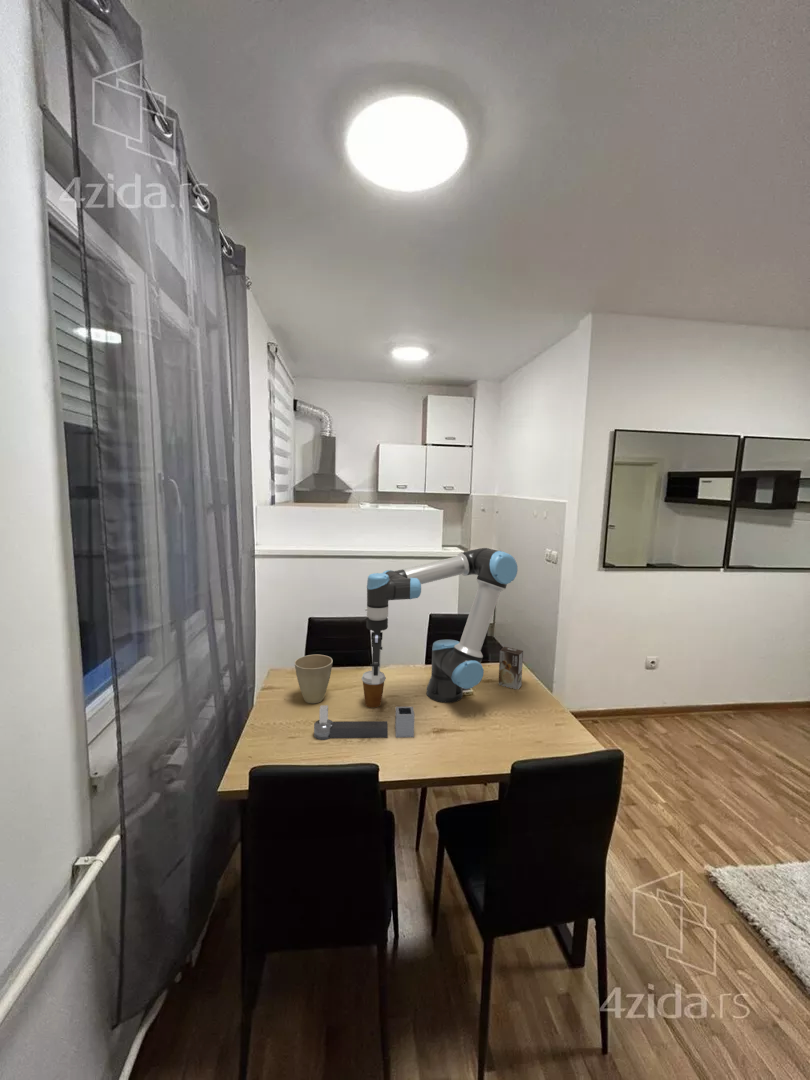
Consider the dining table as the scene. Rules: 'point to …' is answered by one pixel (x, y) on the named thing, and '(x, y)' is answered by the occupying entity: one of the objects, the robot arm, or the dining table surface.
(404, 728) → the socket
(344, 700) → the dining table surface
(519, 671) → the coffee box
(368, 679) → the disposable coffee cup
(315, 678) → the plant pot
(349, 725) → the ratchet
